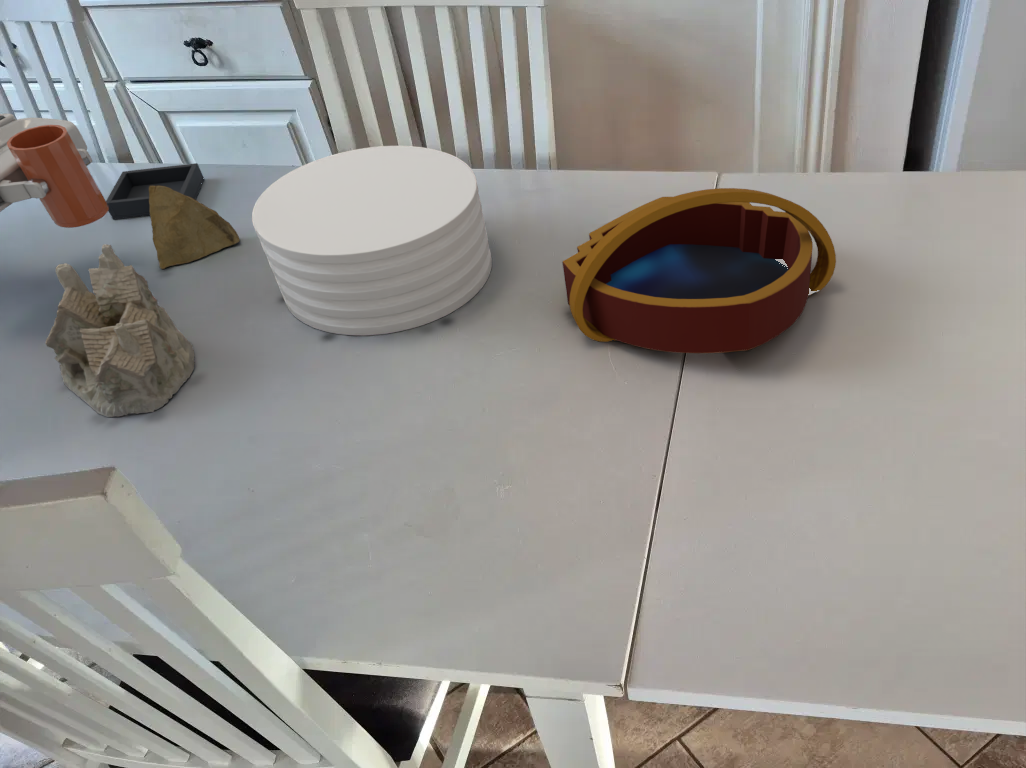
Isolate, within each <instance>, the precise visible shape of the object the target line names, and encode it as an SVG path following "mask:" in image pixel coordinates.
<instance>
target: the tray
mask: <svg viewBox="0 0 1026 768" xmlns="http://www.w3.org/2000/svg"><path fill="white" fill-rule="evenodd" d="M204 177H205V176H204V175H203V172H202V171H201V168H200V165H199V163H197V162H196V163H195V162H194V163H187V164H178V165H177V164H176V165H170V166H169V165H168V166H159V167H152V168H141V169H133V170H132V169H131V170H124V171H122V172H121V174H120V176H119V177H118V179H117V181H116V182H115V184H114V186H113V188H112V189H111V191H110V193H109V195H108V197H107V199H105V201H106V203H107V204H108V207H109V210H108V213H109V214H110V216H111V219H112V220H113V221H114V220H124V219H132V218H140V217H141V218H142V217H149V216H150V204H149V186H150V185H151V186H165V187H168V188H171V189H172V190H174V191H177V192H179V193H181V194H183V195H185V196H189V197H191V198H193V199H195V200H197V198H198V196H199V193H200V190H201V188H202V185H203V183H204V181H205V178H204ZM203 178H204V179H203ZM201 183H202V184H201Z"/></svg>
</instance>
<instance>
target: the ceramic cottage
mask: <svg viewBox="0 0 1026 768" xmlns="http://www.w3.org/2000/svg"><path fill="white" fill-rule="evenodd" d="M88 272H89V279H90V285H91V286H92V292H91V291H89V289H88V287H87V285H86V284H85V282H84V281H83V280H82V278H81V277H80V275H79V274H78V272H77V271H76V269H74V267H73V266H72V265H71V264H69V263H67V262H65V263H59V264H58V265H56V267H55V274H56V277H57V279H58V281H59V283H60V285H61V286H62V288H63V290H64V291H63V294H62V298H61V300H60V301H59V303H58V305H57V311H56V317H55V319H54V321H53V325H52V327H51V328H50V331H49V333H48V336H47V338H45V342H44V344H45V345H46V347H48V348H49V349H52V350H53V353H54V354H55V357H54V359H55V360H56V361H57V363H59V364H60V365H59V370H60V376H61V378H62V382H63V385H64V386H65V387H67V389H68V390H69V391H71V392H72V393H73V394H75V395H76V396H77V397H79V398H80V400H81V401H84V402H85V403H86V404H87V405H88V406H89V407H90V408H92V409H93V411H95V412H96V413H97V414H98V415H101V416H103V417H106V418H107V417H108V418H114V417H118V418H120V417H124V416H128V415H130V414H136V415H139V414H147V413H154V412H155V411H157V410H159V409H161V408H163V406H165V405H166V404H168V403H169V400H170V399H172V398H173V395H175V394H176V393H178V392H179V390H180V388H181V387H182V386H183V385H184V383H186V382H187V381H188V379H190V378H191V375H192V374H193V371H194V369H195V364H196V362H195V349H194V346H193V344H192V342H190V341H189V340H188V339H187V338H186V336H185V335H184V334H183V333H182V332H181V331H180V330H179V329H178V328H177V326H176V325H175V322H174V321H173V320H172V318H171V317H170V314H168V312H167V310H166V309H165V308H164V307H162V306H160V305H159V304H158V299H157V298H156V297H155V296H154V295H153V293H152V291H151V290H150V288H149V284H148V280H146V278H145V277H144V276H143V275H141V274H140V273H138V272H137V271H136V269H135V268H134V266H133V265H132V264H130V265H125V264H124V263H123V261H122V260H121V259H120V258H119V256H118V255H117V254H116V253H115V251H114V249H113V247H112V244H106V243H103V244H102V246H101V254H100V255H98V267H94V268H88Z"/></svg>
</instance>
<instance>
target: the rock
mask: <svg viewBox="0 0 1026 768" xmlns="http://www.w3.org/2000/svg"><path fill="white" fill-rule="evenodd" d="M149 204H150V222H151V223H150V225H151V231H152V242H153V246H154V248H155V251H156V258H157V260H158V265H159V266H158V267H159V268H160V269H161V270H165V269H166V268H169V267H171V266H177V265H184V264H188V263H191V262H193V261H197V260H199V259H202V258H204V257H207V256H208V255H211V254H213V253H216V252H219V251H221V250H222V249H224V248H228V247H231V246H233V245H236V244H238V243H240V241H241V240H240V236H239V235H238V232H237V231H236V229H234V227H233V226H232V224H231V223H230V222H229V221H227V220H226V219H224V218H223V217H222V216H221V215H220V214H219V213H218V212H217V211H216V210H214V209H212V208H210V207H209V206H206V205H205V204H204V203H202V202H200V201H198V199H196V200H195V199H193V198H191V197H189V196H185V195H183V194H181V193H179V192H177V191H174V190H172V189H171V188H168V187H165V186H151V185H150V186H149Z"/></svg>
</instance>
